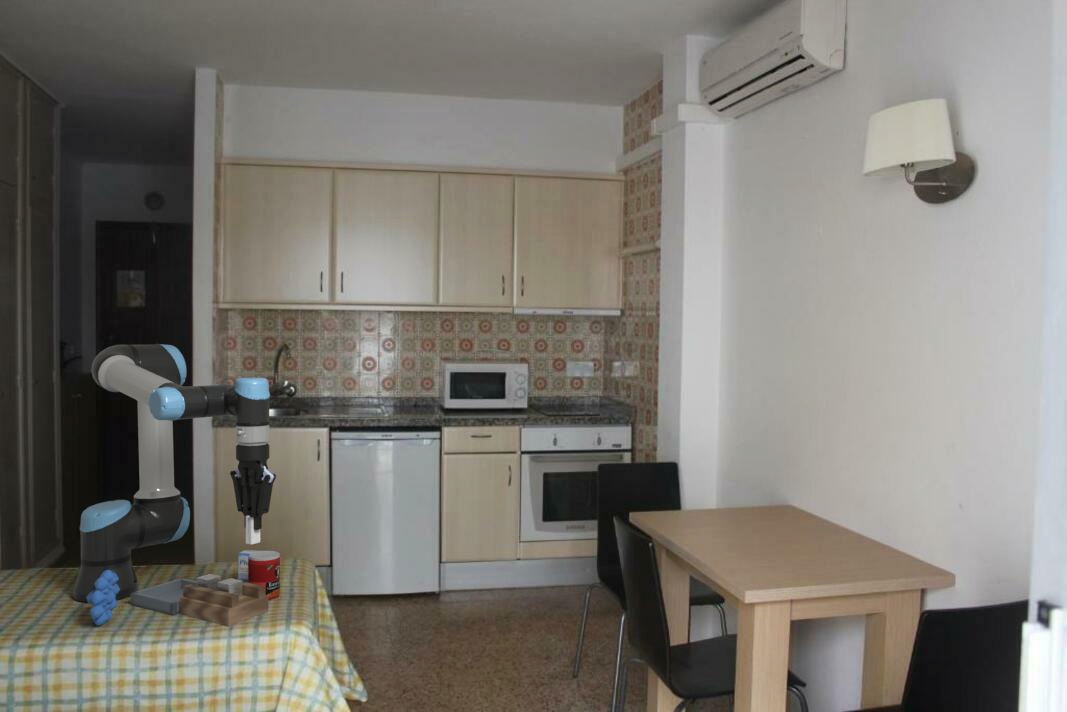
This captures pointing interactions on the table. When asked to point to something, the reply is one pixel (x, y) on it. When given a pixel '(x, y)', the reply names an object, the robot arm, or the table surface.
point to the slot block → (223, 603)
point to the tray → (162, 596)
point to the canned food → (265, 571)
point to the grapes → (103, 597)
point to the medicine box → (243, 565)
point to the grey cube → (230, 586)
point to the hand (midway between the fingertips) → (253, 542)
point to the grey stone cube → (208, 581)
